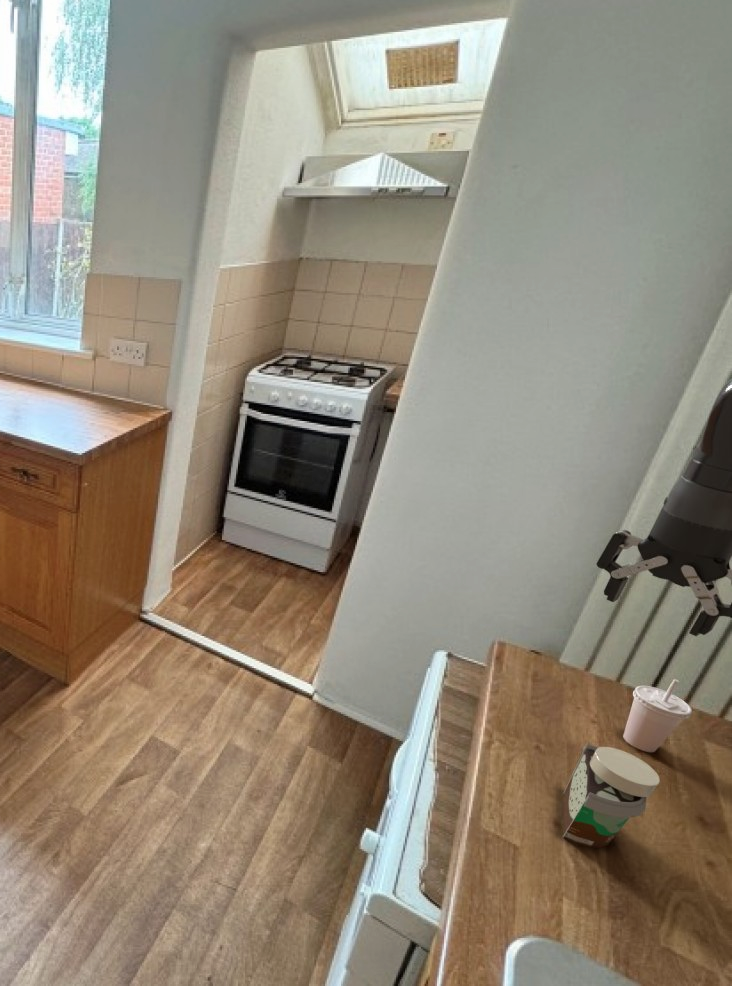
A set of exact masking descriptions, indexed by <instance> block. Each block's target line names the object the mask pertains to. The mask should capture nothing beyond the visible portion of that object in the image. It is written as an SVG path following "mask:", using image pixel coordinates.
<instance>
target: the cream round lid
mask: <svg viewBox="0 0 732 986" xmlns="http://www.w3.org/2000/svg"><path fill="white" fill-rule="evenodd" d="M590 767H591V769H592V770H593V771H594V773H595V774H596V775H597V776H598V777H599V778H601V779H602V780H603V781H605V782H606V783H607V784H609V785H610V786H612V787H614V788H616V789H618V790H620V791H622V792H625V793H627V794H630V795H634V796H638V797H647V798H649V797H651V796H652V795H653V794H654V793H655V791H656V789H657V788H658V786H659V784H660V782H661V779H660V775H658V773H657V771H656V770H655V769H653V767H651V766H650V765H649V764H648V763H646V762H645V761H644V760H642V759H641V758H639V757H637V756H635V755H634V754H631V753H629V752H627V751H624V750H621V749H620V748H615V747H611V746H599V747H598V748H597V749H596V751H595V753H594V754H593V756H592V758H591V760H590Z"/></svg>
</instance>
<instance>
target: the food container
mask: <svg viewBox="0 0 732 986" xmlns="http://www.w3.org/2000/svg"><path fill="white" fill-rule="evenodd" d="M597 748H599V747H598V746H597V745H594V744H592V743H590V742H587V743H586V744H585V746H584V747H583V749H582V751H581V752H582V754H581V756H580V757H579V760H578V762H577V764H576V766H575V769H574V770H573V771H572V773H571V774H572V775H571V777H570V778H569V781H568V783H567V785H566V788H565V789H564V792H563V794H562V795H563V812H564V813H563V829H564V830H563V833H564V834H563V836H562V838H563V839H564V840H565V839H566V840H567V841H570V842H572V843H573V844H578V845H581V846H584V847H588V848H603V847H607V846H608V845H609V844H610V843H611V842H612V840H613V839H614V838H615V837H616V835H617V834H618V833H619V831H620V830H621V829H622V828H623V827H624V825H625V824H626V823H627V822H628V821H629V819H630V818H636V817H639V816H641V815H643V814H644V812H645V810H646V806H647V798H648V797H638V796H634V795H630V794H627V793H625V792H622V791H620V790H618V789H616V788H614V787H612V786H610V785H609V784H607V783H606V782H605V781H603V780H602V779H601V778H599V777H598V776H597V775H596V774H595V773H594V771H593V770H592V769H591V767H590V760H591V758H592V756H593V754H594V753H595V751H596V749H597Z"/></svg>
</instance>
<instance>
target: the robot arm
mask: <svg viewBox="0 0 732 986" xmlns="http://www.w3.org/2000/svg"><path fill="white" fill-rule="evenodd" d="M634 546H635V547H637V550H638V552H639V554H640V557H641V559H639V560H637V561H633V562H631V563H628V564H625V565H621V564H619V563H617V560H618V558H619V557H620V556H621V553H622V552H623V550H628V549H631V548H632V547H634ZM731 559H732V378H730V379H729V380H727V382H726V383H724V385H723V386H722V387H721V389H720V391H719V393H718V394H717V396H716V398H715V400H714V402H713V405H712V407H711V409H710V413H709V415H708V418H707V421H706V424H705V426H704V430H703V432H702V436H701V439H700V440H699V442H698V444H697V446H696V447H695V448H694V450H693V451H692V453H691V456H690V458H689V459H688V461H687V463H686V465H685V467H684V469H683V472H682V473H681V474H680V477H679V478H678V479H677V481H676V483H675V484H674V485H673V486H672V488H671V489H670V492H669V493H668V495H667V496H666V497H665V499H664V501H663V505H662V507H661V509H660V511H659V513H658V515H657V518H656V519H655V522H654V523H653V526H652V528H651V530H650V531H649V533H648V535H647V537H646V538H645V539H643V538H641V537H638V536H635V535H632V533H631V531H629V530H626V529H622V530H620V531H617V532H615V533H614V534H612V535H611V538H610V539H609V540H608V543H607V544H606V546H605V548H604V549H603V551H602V553H601V555H600V556H599V558H598V560H597V562H596V566H597V568H599V569H602V570H604V571H606V572H607V573H608V574H609V576H610V577H609V579H608V582H607V583H606V585H605V588H604V590H603V595H604V596H606V600H607V601H609V602H611V603H614V602H616V601H618V600H619V599H620V597H621V595H622V593H623V591H624V589H625V587H626V585H627V583H628V582H629V581H628V580H629V576H631V575H637V574H639V573H643V572H646V571H648V572H649V573H650V574H652V577H655V578H657V579H661V580H666V581H669V582H671V583H673V584H674V585H677V586H679V587H682V588H684V587H689V588H691V590H692V592H693V594H694V596H695V598H696V599H697V600H699V602H700V604H701V606H702V608H703V610H701V611H700V612H699V615H698V616H697V618H696V620H695V622H694V623H693V625H692V627H691V629H690V630H689V632H688V634H689V635H691V636H694V637H698V636H699V635H702V636H705V635H707V634H709V633H710V632H711V631H713V629H714V627H715V626H716V624H717V622H718V620H719V619H720V617H728V618H730V619H732V602H730V604H726V603H724V601H723V599H722V597H721V595H720V594H719V593H720V590H719V588H718V586H717V584H716V582H715V581H718V580H720V579H723V578H728V579H729V580H730V586H732V568H731V567H730V561H731Z"/></svg>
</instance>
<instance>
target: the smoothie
mask: <svg viewBox="0 0 732 986" xmlns="http://www.w3.org/2000/svg"><path fill="white" fill-rule="evenodd" d="M679 682H680V681H679V680H678V679H676V678H673V680H672V681H671V683H670V685H669V687H668V688H667V690H665V689H661V688H658V687H654V686H649V685H638V686H636V687H635V689H634V690H633V692H632V696H633V701H632V704H631V708H630V711H629V715H628V718H627V722H626V725H625V728H624V732H623V736H622V737H623V739H624V741H625V742H626V743H628V744H629V745H631V746H632V747H634V748H636V749H637V750H640V751H643V752H646V753H655V752H656V751H657V750H658V749H659V748H660V746H661V745H662V744H663V743H664V742H665V741H666V740H667V739H668V737H669V736H671V734H672V733H673V732H674V731H675V730H676V729H677V728H678V726H679V725H680V724H681V723H682V722H683V721H684V720H687V719H690V717H691V714H692V713H693V710H692V707H691V706H690V705H689V704H688V703H687V702H686V701H684V700H683V699H682V698H680V697H678V696H677V695H675V694H673V692H674V691H675V689H676V687H677V685H678V684H679Z"/></svg>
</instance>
